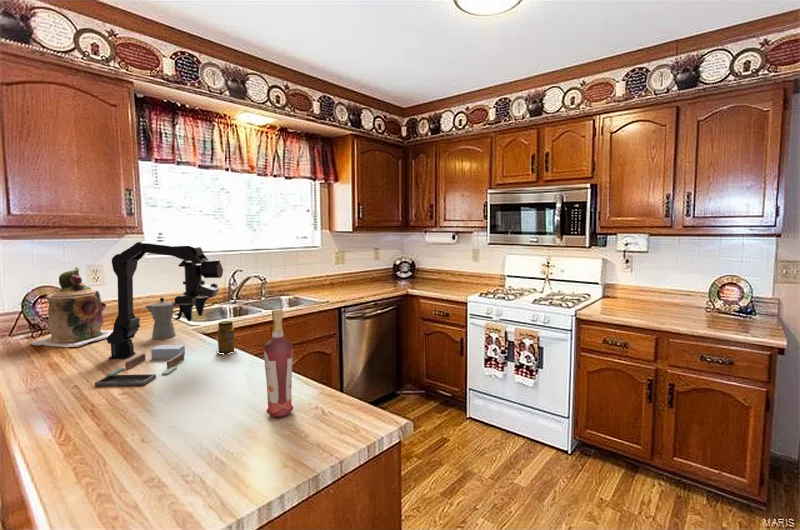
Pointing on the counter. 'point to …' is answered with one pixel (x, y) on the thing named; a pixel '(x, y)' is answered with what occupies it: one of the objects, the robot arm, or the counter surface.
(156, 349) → the block
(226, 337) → the condiment
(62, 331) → the cookie jar
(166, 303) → the coffeepot
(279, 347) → the liquor
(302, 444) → the counter surface
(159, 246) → the robot arm
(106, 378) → the tray
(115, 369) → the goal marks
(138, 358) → the brown wooden beams
